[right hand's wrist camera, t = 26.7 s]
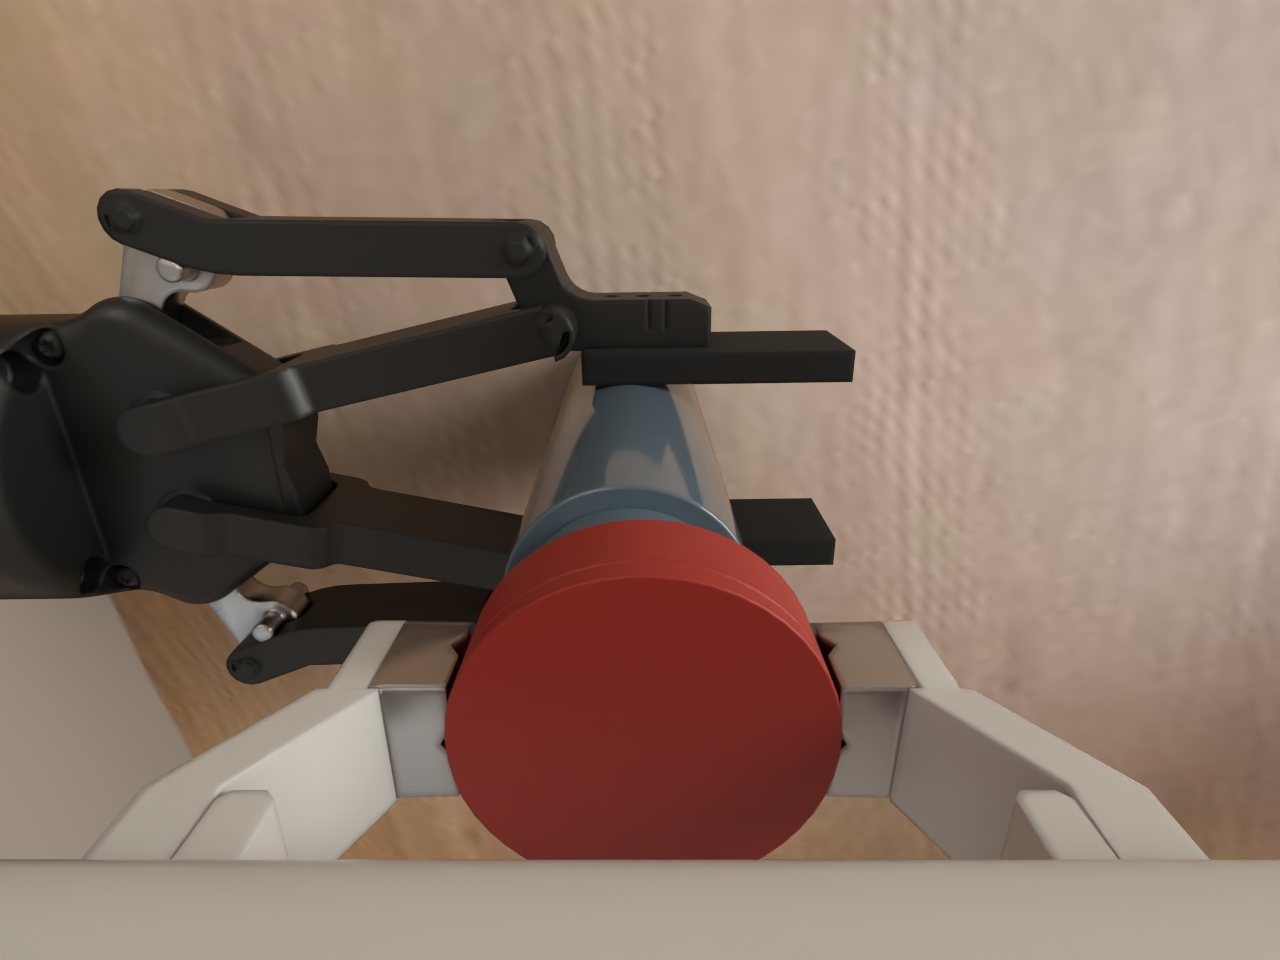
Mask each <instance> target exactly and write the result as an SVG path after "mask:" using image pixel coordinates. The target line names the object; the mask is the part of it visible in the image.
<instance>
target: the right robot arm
mask: <svg viewBox="0 0 1280 960" xmlns="http://www.w3.org/2000/svg"><path fill="white" fill-rule="evenodd" d="M810 626H811V629H812V631H813V634H814V636H815V639H816V641H817V644H818V646H819V649H820V651H821V654H822V656H823V659H824V661H825V664H826V666H827V669H828V671H829V674H830V676H831V679H832V681H833V684H834V687H835V689H836V692H837V694H838V699H839V704H840V709H841V713H842V732H843V737H842V745H841V752H840V758H839V762H838V765H837V769H836V772H835V775H834V778H833V780H832V782H831V784H830V787H829V789H828V791H827V795H828V796H840V797H876V798H890V802H891V803H893V804H894V805H895V806H896V807H897V808H898V809H899V810H900V811H901V812H902V813H903V814H904V815H905V816H906V817H907V818H908V819H909V820H910V821H911V822H912V823H913V824H914V825H915V826H916V827H917V828H919V829H920V830H921V831H922V832H923V833H924V834H925V835H926V836H927V837H928V838H929V839H930V840H931V841H932V842H933V843H934V844H935V845H936V846H937V847H938V848H939V849H940V850H941V851H942V852H944V853H945V854H946V855H947V856H948V857H949V858H950V859H951V860H337V859H338V858H339V857H340V856H341V855H342V854H343V853H344V852H345V851H346V850H347V849H348V848H349V847H350V846H351V845H352V844H353V843H354V842H355V841H356V840H357V839H358V838H359V837H360V836H362V835H363V834H364V833H365V832H366V831H367V830H368V829H369V828H370V827H371V826H372V825H373V824H374V823H375V822H376V821H377V820H378V819H379V818H380V817H381V816H382V815H383V814H384V813H385V812H386V811H387V810H388V809H389V808H390V807H392V806H393V805H394V804H395V803H396V802H397V799H396V798H410V797H445V796H459V795H460V791H459V789H458V787H457V785H456V783H455V781H454V779H453V776H452V773H451V769H450V766H449V763H448V760H447V753H446V746H445V739H444V733H445V714H446V709H447V704H448V699H449V695H450V692H451V690H452V687H453V684H454V682H455V679H456V676H457V674H458V671H459V669H460V666H461V663H462V661H463V658H464V656H465V653H466V650H467V648H468V645H469V643H470V640H471V637H472V635H473V632H474V630H475V627H476V624H475V622H447V621H405V620H398V621H374V622H372V623H370V624H369V625H368V626H367V627H366V629H365V630H364V632H363V634H362V635H361V637H360V638H359V640H358V641H357V643H356V644H355V646H354V647H353V649H352V651H351V652H350V654H349V655H348V657H347V658H346V660H345V661H344V663H343V664H342V666H341V667H340V669H339V671H338V672H337V674H336V675H335V677H334V678H333V680H332V681H331V683H330V684H329V686H328V687H327V689H315V690H313V691H311V692H309V693H308V694H306V695H304V696H302V697H301V698H299V699H297V700H295V701H294V702H292V703H290V704H288V705H287V706H285V707H283V708H281V709H279V710H278V711H276V712H274V713H272V714H271V715H269V716H267V717H265V718H264V719H262V720H260V721H258V722H256V723H255V724H253V725H251V726H249V727H248V728H246V729H244V730H242V731H241V732H239V733H237V734H235V735H233V736H232V737H230V738H228V739H226V740H225V741H223V742H221V743H219V744H218V745H216V746H214V747H212V748H211V749H209V750H207V751H205V752H203V753H202V754H200V755H198V756H196V757H195V758H193V759H191V760H189V761H188V762H186V763H184V764H182V765H181V766H179V767H177V768H175V769H174V770H172V771H170V772H168V773H166V774H165V775H163V776H161V777H159V778H157V779H156V780H154V781H152V782H150V783H149V784H147V785H145V786H143V787H142V788H141V789H140V790H139V792H138V793H137V794H136V795H135V796H134V797H133V799H132V800H131V801H130V802H129V803H128V804H127V806H126V807H125V808H124V809H123V810H122V812H121V813H120V814H119V815H118V816H117V817H116V819H115V820H114V821H113V822H112V823H111V824H110V826H109V827H108V828H107V829H106V830H105V831H104V833H103V834H102V835H101V836H100V837H99V839H98V840H97V841H96V842H95V843H94V844H93V845H92V847H91V848H90V849H89V850H88V851H87V853H86V854H85V855H84V856H83V857H82V858H81V859H80V860H0V960H1280V860H1209V858H1208V857H1207V856H1206V855H1205V854H1204V853H1203V851H1202V850H1201V849H1200V848H1199V847H1198V846H1197V844H1196V843H1195V842H1194V841H1193V840H1192V839H1191V838H1190V836H1189V835H1188V834H1187V833H1186V832H1185V831H1184V829H1183V828H1182V827H1181V826H1180V825H1179V824H1178V822H1177V821H1176V820H1175V819H1174V818H1173V817H1172V816H1171V814H1170V813H1169V812H1168V811H1167V810H1166V809H1165V807H1164V806H1163V805H1162V804H1161V803H1160V802H1159V800H1158V799H1157V798H1156V797H1155V796H1154V795H1153V794H1152V792H1151V791H1150V790H1149V789H1148V788H1147V787H1145V786H1143V785H1141V784H1140V783H1138V782H1136V781H1134V780H1132V779H1131V778H1129V777H1127V776H1125V775H1124V774H1122V773H1120V772H1118V771H1116V770H1115V769H1113V768H1111V767H1109V766H1108V765H1106V764H1104V763H1102V762H1100V761H1099V760H1097V759H1095V758H1093V757H1092V756H1090V755H1088V754H1086V753H1084V752H1083V751H1081V750H1079V749H1077V748H1076V747H1074V746H1072V745H1070V744H1068V743H1067V742H1065V741H1063V740H1061V739H1060V738H1058V737H1056V736H1054V735H1052V734H1051V733H1049V732H1047V731H1045V730H1044V729H1042V728H1040V727H1038V726H1036V725H1035V724H1033V723H1031V722H1029V721H1028V720H1026V719H1024V718H1022V717H1020V716H1019V715H1017V714H1015V713H1013V712H1012V711H1010V710H1008V709H1006V708H1004V707H1003V706H1001V705H999V704H997V703H996V702H994V701H992V700H990V699H988V698H987V697H985V696H983V695H981V694H980V693H978V692H976V691H974V690H972V689H960V687H959V686H958V684H957V683H956V681H955V680H954V678H953V677H952V675H951V674H950V672H949V671H948V669H947V668H946V666H945V665H944V664H943V662H942V661H941V659H940V658H939V656H938V655H937V653H936V652H935V650H934V649H933V647H932V646H931V644H930V643H929V641H928V640H927V638H926V637H925V635H924V634H923V632H922V631H921V629H920V628H919V626H918V625H917V623H915V622H913V621H911V620H899V621H877V622H839V623H810Z"/></svg>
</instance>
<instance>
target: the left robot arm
mask: <svg viewBox="0 0 1280 960" xmlns="http://www.w3.org/2000/svg"><path fill="white" fill-rule="evenodd" d="M97 212H98V219H99V221H100V223H101V225H102V227H103V229H104V231H105V232H106V233H107V234H108V235H109V236H110V237H111V238H112V239H113V240H115V241H117V242H119V243H121V244H122V245H124V249H123V260H122V271H121V282H120V293H119V297H112V298H108V299H105V300H102V301H100V302H98V303H96V304H95V305H93V306H92V307H91V308H89V309H88V310H87V311H85V312H84V313H82V314H30V315H0V599H61V598H83V597H92V596H99V595H105V594H111V593H117V592H123V591H129V590H137V589H145V590H151V591H155V592H159V593H162V594H165V595H168V596H170V597H173V598H175V599H178V600H180V601H183V602H187V603H193V604H206V603H208V604H209V605H210V606H211V608H212V609H213V610H214V612H215V613H216V614H217V616H218V617H219V618H220V620H221V621H222V622H223V624H224V625H225V626H226V628H227V629H228V630H229V632H230V633H231V634H232V636H233V637H234V638H235V640H236V641H237V642H238V644H239V645H238V646H237V647H236V649H235V650H234V651H233V652H232V653H231V654H230V655H229V657H228V659H227V669H228V671H229V673H230V674H231V675H232V676H233V677H234V678H235V679H236V680H238V681H240V682H242V683H246V684H258V683H262V682H264V681H267V680H270V679H273V678H275V677H278V676H281V675H284V674H287V673H289V672H292V671H295V670H298V669H300V668H303V667H306V666H309V665H328V664H343V663H344V661H345V660H346V658H347V657H348V655H349V654H350V652H351V651H352V649H353V647H354V646H355V644H356V643H357V641H358V640H359V638H360V637H361V635H362V634H363V632H364V630H365V629H366V627H367V626H368V625H369V624H370V623H372V622H374V621H398V620H405V621H447V622H475V624H477V622H478V619H479V617H480V614H481V611H482V610H483V608H484V606H485V604H486V602H487V601H488V599H489V597H490V595H491V594H492V592H493V591H494V590H495V588H496V587H497V586H498V585H499V583H500V582H501V581H502V579H503V578H504V573H505V568H506V565H507V562H508V559H509V556H510V553H511V550H512V547H513V544H514V541H515V539H516V536H517V533H518V530H519V527H520V524H521V521H522V518H523V516H522V515H517V514H511V513H506V512H501V511H495V510H490V509H484V508H479V507H473V506H468V505H462V504H457V503H451V502H446V501H440V500H435V499H429V498H424V497H418V496H413V495H407V494H402V493H396V492H391V491H385V490H380V489H375V488H372V487H370V485H369V484H368V482H367V481H365V480H363V479H359V478H355V477H350V476H344V475H339V474H333V473H329V468H328V466H327V464H326V462H325V459H324V457H323V455H322V453H321V451H320V449H319V447H318V445H317V442H316V436H317V424H318V412H320V411H324V410H328V409H332V408H336V407H341V406H345V405H349V404H353V403H358V402H362V401H366V400H370V399H375V398H379V397H383V396H387V395H391V394H396V393H400V392H404V391H408V390H413V389H417V388H421V387H425V386H429V385H434V384H438V383H442V382H446V381H451V380H455V379H459V378H463V377H467V376H472V375H476V374H480V373H484V372H489V371H493V370H497V369H501V368H505V367H510V366H514V365H518V364H522V363H527V362H531V361H535V360H539V359H543V358H548V357H552V356H554V359H555V362H556V361H558V360H560V359H563V358H565V357H566V355H567V354H568V353H569V352H570V351H582V353H581V366H582V386H598V385H667V384H736V383H805V382H852V380H853V370H854V361H855V350H854V349H852V348H851V347H849V346H848V345H846V344H845V343H844V342H842V341H841V340H839V339H838V338H836V337H835V336H834V335H832V334H831V333H829V332H828V331H826V330H819V331H748V332H711V306H710V305H709V303H708V302H707V301H706V299H703V298H701V297H698V296H696V295H693V294H691V293H688V292H630V293H592V292H587V291H585V290H582V289H580V288H579V287H577V286H576V285H575V284H574V283H573V282H572V281H571V280H570V278H569V276H568V275H567V273H566V270H565V268H564V265H563V263H562V260H561V258H560V256H559V253H558V251H557V248H556V243H555V239H554V234H553V233H552V231H551V230H550V228H549V227H548V226H547V225H545V224H544V223H542V222H541V221H538V220H533V219H476V218H381V217H285V216H258V215H256V214H253V213H250V212H247V211H245V210H242V209H239V208H237V207H234V206H231V205H229V204H226V203H223V202H220V201H218V200H215V199H212V198H210V197H207V196H204V195H202V194H199V193H196V192H194V191H189V190H182V189H113V190H109V191H106V192H105V193H104V194H103V195H102V196H101V197H100V199H99V203H98V206H97ZM233 275H239V276H338V277H445V278H507V281H508V283H509V285H510V287H511V290H512V292H513V294H514V297H515V299H516V301H515V302H511V303H507V304H503V305H499V306H495V307H491V308H487V309H483V310H479V311H474V312H470V313H466V314H462V315H458V316H454V317H450V318H446V319H442V320H438V321H434V322H429V323H425V324H421V325H417V326H413V327H409V328H405V329H401V330H397V331H393V332H389V333H384V334H380V335H376V336H372V337H368V338H364V339H360V340H356V341H352V342H348V343H343V344H339V345H328V346H324V347H320V348H316V349H311V350H307V351H303V352H299V353H295V354H291V355H287V356H283V357H279V358H274V357H272V356H270V355H269V354H267V353H265V352H264V351H262V350H260V349H259V348H257V347H256V346H254V345H252V344H251V343H249V342H247V341H246V340H244V339H242V338H241V337H239V336H237V335H236V334H234V333H233V332H231V331H229V330H228V329H226V328H224V327H223V326H221V325H219V324H218V323H216V322H214V321H213V320H211V319H210V318H208V317H206V316H205V315H203V314H201V313H200V312H198V311H196V310H195V309H193V308H191V307H190V306H188V305H187V304H185V303H184V301H185V297H186V296H187V294H188V293H189V292H194V293H196V292H200V291H205V290H209V289H214V288H218V287H223V286H224V285H226V284H227V283H228V282H229V281H230V280H231V279H232V276H233ZM729 501H730V504H731V507H732V510H733V513H734V517H735V520H736V523H737V526H738V529H739V533H740V536H741V539H742V542H743V545H744V546H745V547H746V548H748V549H749V550H751V551H752V552H753V553H755V554H756V555H758V556H759V557H760V558H762V559H763V560H765V561H766V562H767V563H768V564H769V565H833V559H834V550H835V540H836V539H835V538H834V536H833V534H832V533H831V531H830V529H829V528H828V526H827V524H826V522H825V521H824V519H823V517H822V516H821V514H820V512H819V511H818V509H817V507H816V505H815V504H814V502H813V500H812V499H811V498H799V499H730V500H729ZM270 562H271V563H277V564H283V565H289V566H295V567H301V568H306V569H319V568H324V567H327V566H330V565H333V564H345V565H351V566H357V567H363V568H368V569H374V570H380V571H386V572H392V573H397V574H403V575H409V576H415V577H421V578H426V579H432V580H438V581H442V582H413V583H384V584H355V585H341V586H333V587H328V588H322V589H319V590H316V591H313V592H309V590H308V587H307V586H306V585H305V584H303V583H301V582H295V583H292V584H291V585H290V586H287V585H284V586H275V587H274V586H268V585H265V584H262V583H261V582H259V581H258V580H256V579H255V577H254V575H255V574H256V573H258V572H259V571H260V570H261V569H263V568H264V567H265V566H267V565H268V564H269V563H270Z"/></svg>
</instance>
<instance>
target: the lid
mask: <svg viewBox="0 0 1280 960" xmlns="http://www.w3.org/2000/svg"><path fill="white" fill-rule="evenodd" d="M842 737H843V732H842V713H841V709H840V704H839V699H838V694H837V692H836V689H835V687H834V684H833V681H832V679H831V676H830V674H829V671H828V669H827V666H826V664H825V661H824V659H823V656H822V654H821V651H820V649H819V646H818V644H817V641H816V639H815V636H814V634H813V631H812V629H811V626H810V624H809V621H808V619H807V616H806V614H805V611H804V609H803V607H802V605H801V604H800V602H799V600H798V599H797V597H796V595H795V593H794V592H793V590H792V589H791V588H790V587H789V585H788V584H787V583H786V582H785V580H784V579H783V578H782V577H781V575H780V574H779V573H777V572H776V571H775V570H774V569H773V568H772V567H771V566H770V565H769V564H768V563H767V562H766V561H765V560H763V559H762V558H760V557H759V556H758V555H756V554H755V553H753V552H752V551H751V550H749V549H748V548H746V547H745V546H743V545H741V544H739V543H737V542H735V541H733V540H731V539H729V538H727V537H725V536H723V535H720V534H717V533H715V532H712V531H709V530H707V529H704V528H701V527H697V526H693V525H688V524H684V523H680V522H673V521H664V520H655V519H641V520H622V521H614V522H607V523H602V524H598V525H594V526H590V527H586V528H582V529H580V530H577V531H574V532H572V533H569V534H567V535H564V536H561V537H559V538H557V539H555V540H553V541H551V542H550V543H548V544H546V545H544V546H542V547H540V548H539V549H537V550H536V551H534V552H533V553H532V554H530V555H529V556H527V557H526V558H525V559H523V560H522V561H521V562H519V563H518V564H517V565H516V566H515V567H514V568H513V569H512V570H511V571H510V572H509V573H508V574H507V575H506V576H505V577H504V578H503V579H502V581H501V582H500V583H499V585H498V586H497V587H496V588H495V590H494V591H493V592H492V594H491V595H490V597H489V599H488V601H487V602H486V604H485V606H484V608H483V610H482V611H481V614H480V617H479V619H478V622H477V624H476V627H475V630H474V632H473V635H472V637H471V640H470V643H469V645H468V648H467V650H466V653H465V656H464V658H463V661H462V663H461V666H460V669H459V671H458V674H457V676H456V679H455V682H454V684H453V687H452V690H451V692H450V695H449V699H448V704H447V709H446V714H445V733H444V739H445V746H446V753H447V760H448V763H449V766H450V769H451V773H452V776H453V779H454V781H455V783H456V785H457V787H458V789H459V791H460V793H461V796H462V798H463V799H464V801H465V802H466V804H467V805H468V806H469V808H470V809H471V811H472V812H473V814H474V815H475V816H476V817H477V819H478V820H479V821H480V822H481V823H482V824H483V825H484V826H485V827H486V828H487V830H488V831H489V832H491V833H492V834H493V835H494V836H495V837H496V838H498V839H499V840H500V841H501V842H502V843H503V844H505V845H506V846H507V847H509V848H510V849H512V850H513V851H515V852H516V853H518V854H519V855H521V856H522V857H524V858H526V859H528V860H759V859H760V858H762V857H764V856H766V855H767V854H769V853H770V852H772V851H773V850H774V849H776V848H777V847H779V846H780V845H782V844H783V843H784V842H785V841H787V840H788V839H789V838H790V837H791V836H792V835H793V834H795V833H796V832H797V831H798V830H799V829H800V828H801V827H802V826H803V825H804V823H805V822H806V821H807V820H808V819H809V818H810V817H811V816H812V814H813V813H814V812H815V810H816V809H817V807H818V806H819V804H820V803H821V801H822V800H823V798H824V797H825V795H826V793H827V791H828V789H829V787H830V784H831V782H832V780H833V778H834V775H835V772H836V769H837V765H838V762H839V758H840V752H841V745H842Z"/></svg>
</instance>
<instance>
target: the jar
mask: <svg viewBox="0 0 1280 960" xmlns="http://www.w3.org/2000/svg"><path fill="white" fill-rule="evenodd" d="M641 519H655V520H664V521H673V522H680V523H684V524H688V525H693V526H697V527H701V528H704V529H707V530H709V531H712V532H715V533H717V534H720V535H723V536H725V537H727V538H729V539H731V540H733V541H735V542H737V543H739V544H741V545H743V542H742V539H741V536H740V533H739V529H738V526H737V523H736V520H735V517H734V513H733V510H732V507H731V504H730V501H729V498H728V494H727V491H726V488H725V485H724V482H723V478H722V475H721V472H720V469H719V466H718V463H717V459H716V456H715V453H714V450H713V447H712V444H711V440H710V437H709V434H708V431H707V428H706V424H705V421H704V418H703V415H702V412H701V409H700V405H699V402H698V399H697V396H696V393H695V390H694V386H693V384H667V385H598V386H582V366H581V356H580V357H579V359H578V361H577V363H576V365H575V367H574V370H573V373H572V375H571V378H570V381H569V384H568V387H567V390H566V393H565V396H564V399H563V402H562V405H561V408H560V410H559V413H558V416H557V419H556V422H555V425H554V428H553V431H552V434H551V437H550V440H549V442H548V445H547V448H546V451H545V454H544V457H543V460H542V463H541V466H540V469H539V472H538V474H537V477H536V480H535V483H534V486H533V489H532V492H531V495H530V498H529V501H528V504H527V507H526V509H525V512H524V515H523V518H522V521H521V524H520V527H519V530H518V533H517V536H516V539H515V541H514V544H513V547H512V550H511V553H510V556H509V559H508V562H507V565H506V568H505V573H504V577H505V576H506V575H507V574H508V573H509V572H510V571H511V570H512V569H513V568H514V567H515V566H516V565H517V564H518V563H519V562H521V561H522V560H523V559H525V558H526V557H527V556H529V555H530V554H532V553H533V552H534V551H536V550H537V549H539V548H540V547H542V546H544V545H546V544H548V543H550V542H551V541H553V540H555V539H557V538H559V537H561V536H564V535H567V534H569V533H572V532H574V531H577V530H580V529H582V528H586V527H590V526H594V525H598V524H602V523H607V522H614V521H622V520H641ZM743 546H744V545H743Z"/></svg>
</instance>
